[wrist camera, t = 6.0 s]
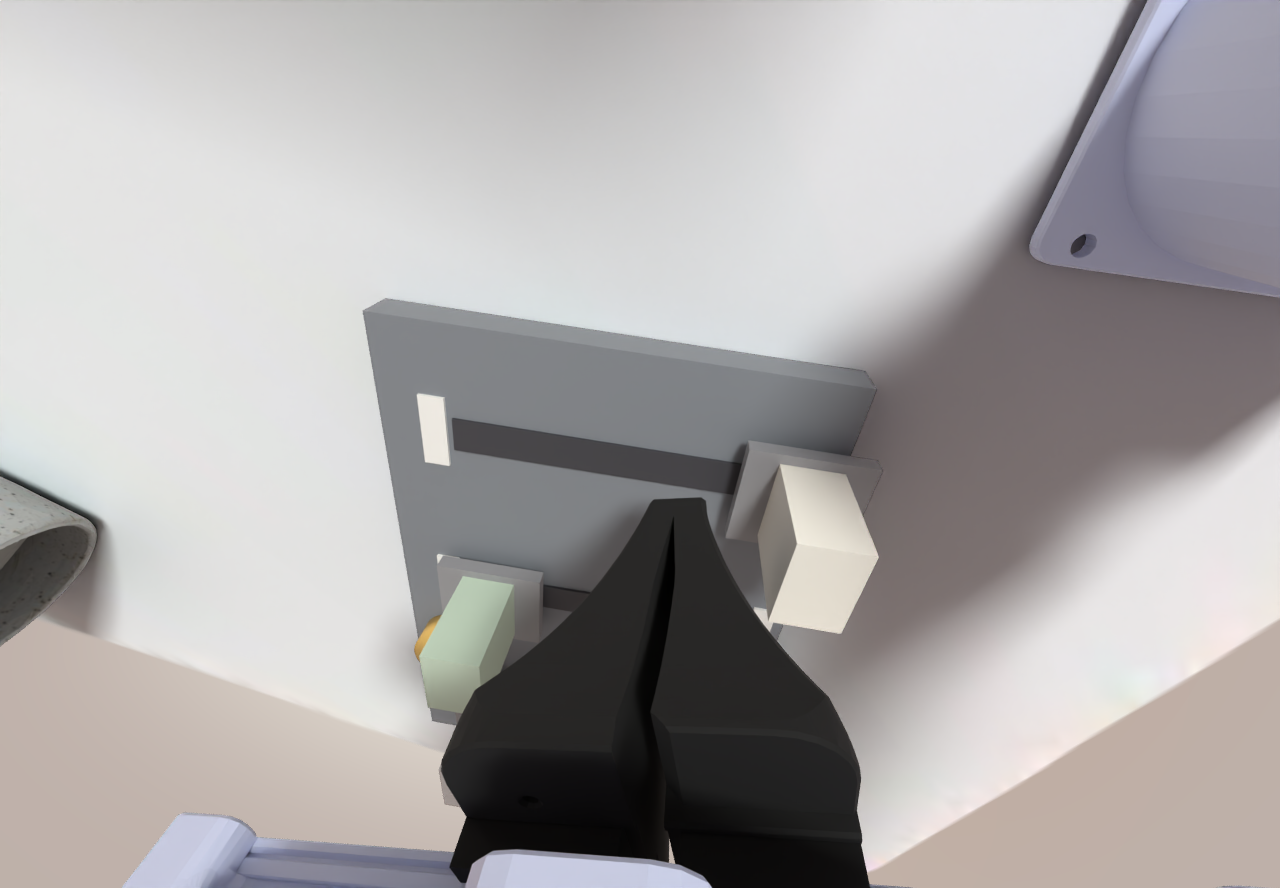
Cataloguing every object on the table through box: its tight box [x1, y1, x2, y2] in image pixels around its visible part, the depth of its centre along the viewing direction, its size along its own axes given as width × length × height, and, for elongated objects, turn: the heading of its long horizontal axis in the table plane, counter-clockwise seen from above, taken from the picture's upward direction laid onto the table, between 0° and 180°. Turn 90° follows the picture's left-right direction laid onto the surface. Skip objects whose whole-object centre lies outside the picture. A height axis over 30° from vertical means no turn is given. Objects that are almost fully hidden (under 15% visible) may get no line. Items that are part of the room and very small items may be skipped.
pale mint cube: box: [419, 556, 544, 713], centre depth 17 cm, size 4×3×4 cm
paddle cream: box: [725, 440, 883, 634], centre depth 14 cm, size 4×3×4 cm
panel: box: [363, 299, 877, 725], centre depth 19 cm, size 14×20×2 cm
